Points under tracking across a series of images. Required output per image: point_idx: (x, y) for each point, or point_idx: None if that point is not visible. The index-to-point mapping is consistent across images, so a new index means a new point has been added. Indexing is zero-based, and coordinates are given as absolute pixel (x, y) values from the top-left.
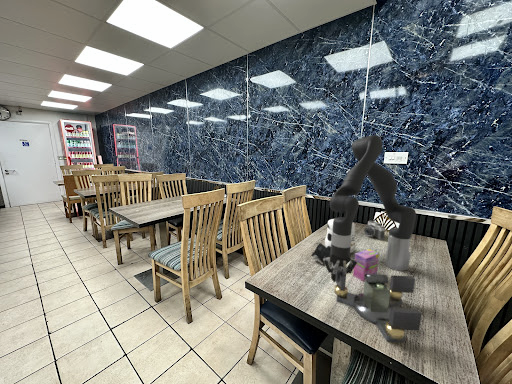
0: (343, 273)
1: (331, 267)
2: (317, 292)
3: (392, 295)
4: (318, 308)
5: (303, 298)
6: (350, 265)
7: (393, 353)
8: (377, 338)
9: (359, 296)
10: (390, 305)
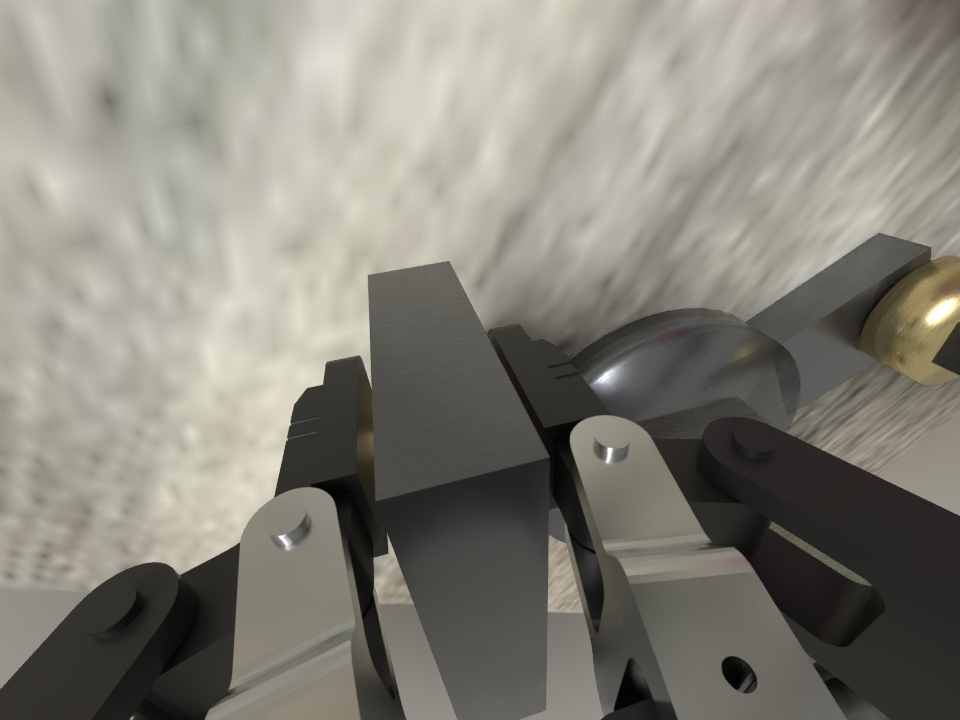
0: (543, 665)
1: (236, 626)
2: (157, 367)
3: (891, 366)
4: (225, 540)
5: (22, 496)
6: (915, 677)
7: (576, 600)
8: (551, 575)
9: (609, 397)
10: (777, 422)
